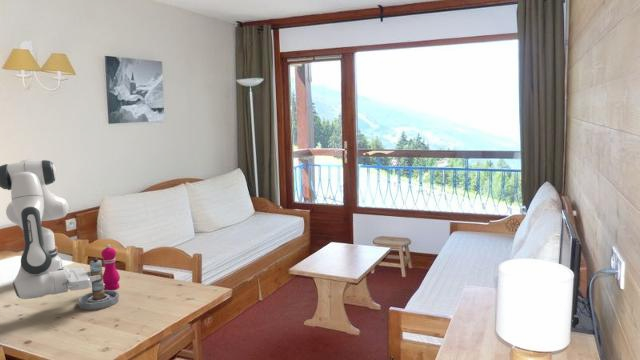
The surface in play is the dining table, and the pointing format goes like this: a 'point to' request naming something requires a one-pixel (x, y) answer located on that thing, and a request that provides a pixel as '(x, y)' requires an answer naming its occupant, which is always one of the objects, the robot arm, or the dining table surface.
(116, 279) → the pepper mill
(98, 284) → the bead column
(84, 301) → the tray
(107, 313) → the dining table surface
